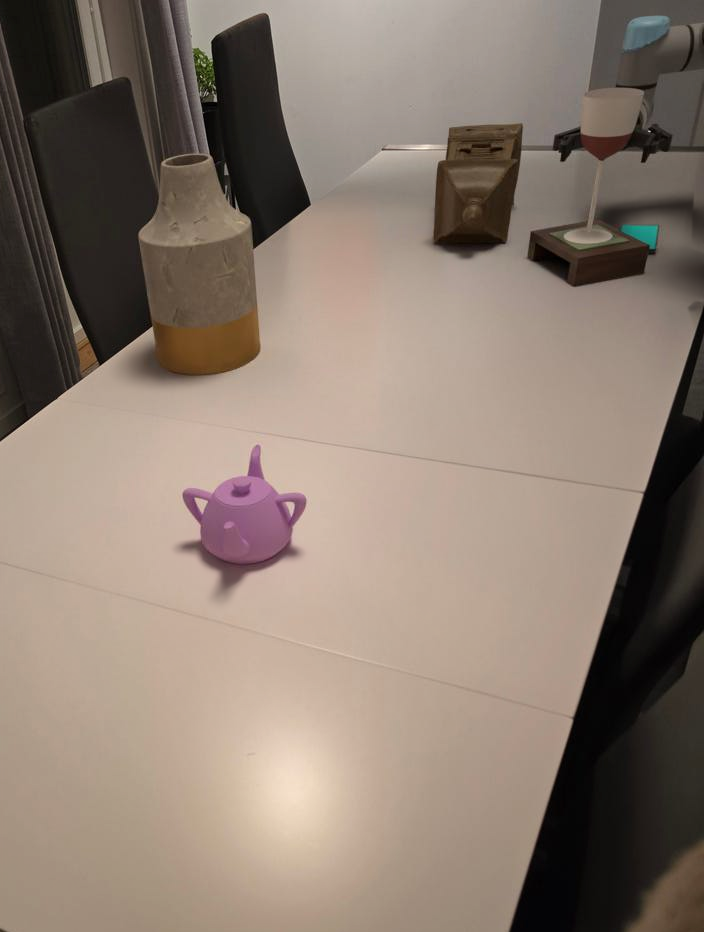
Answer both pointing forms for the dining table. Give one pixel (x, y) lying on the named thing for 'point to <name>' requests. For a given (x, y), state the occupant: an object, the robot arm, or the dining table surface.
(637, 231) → the smartphone
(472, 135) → the ornamental box
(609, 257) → the shelf
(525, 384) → the dining table surface
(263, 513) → the teapot
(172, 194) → the vase
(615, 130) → the wineglass
